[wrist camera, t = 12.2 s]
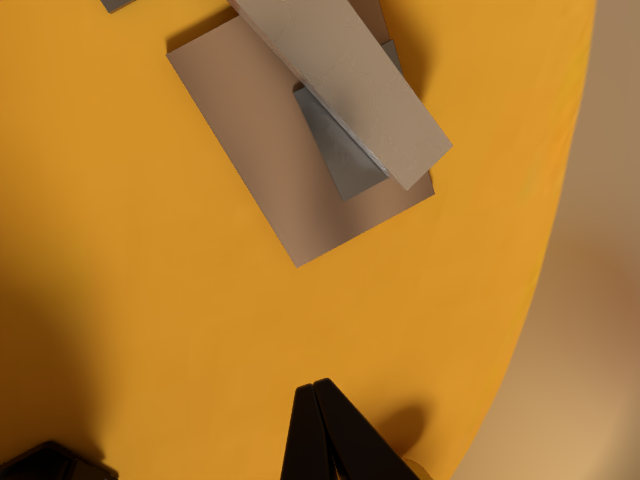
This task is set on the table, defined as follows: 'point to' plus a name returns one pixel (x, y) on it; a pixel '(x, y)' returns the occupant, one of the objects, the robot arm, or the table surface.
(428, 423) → the table surface
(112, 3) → the plate
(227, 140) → the door board
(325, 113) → the plate
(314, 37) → the latch bar
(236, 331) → the table surface
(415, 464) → the lemon
